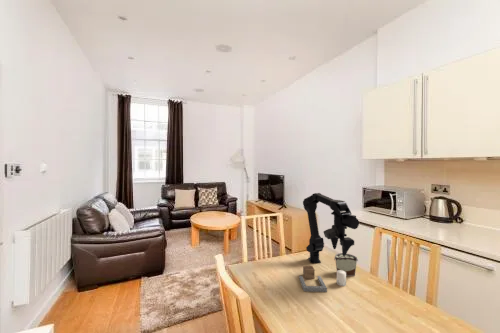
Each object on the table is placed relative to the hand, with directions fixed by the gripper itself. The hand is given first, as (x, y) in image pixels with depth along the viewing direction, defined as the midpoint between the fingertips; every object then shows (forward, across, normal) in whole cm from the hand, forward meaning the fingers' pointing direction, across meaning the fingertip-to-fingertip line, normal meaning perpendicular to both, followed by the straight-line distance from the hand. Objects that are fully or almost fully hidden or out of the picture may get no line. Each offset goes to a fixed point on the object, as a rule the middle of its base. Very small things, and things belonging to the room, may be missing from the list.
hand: (339, 252), depth 124 cm
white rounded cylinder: (+13, +8, -4) cm, 16 cm away
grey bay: (+13, +6, -19) cm, 23 cm away
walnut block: (+13, -1, -17) cm, 21 cm away
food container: (+13, -2, +5) cm, 14 cm away
